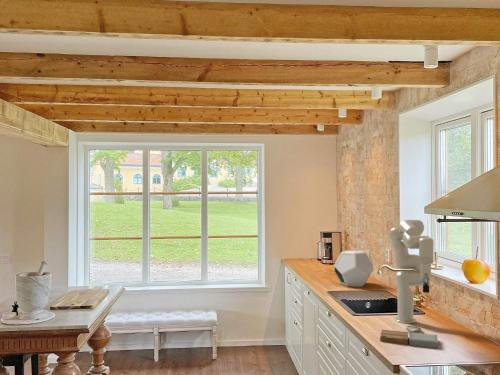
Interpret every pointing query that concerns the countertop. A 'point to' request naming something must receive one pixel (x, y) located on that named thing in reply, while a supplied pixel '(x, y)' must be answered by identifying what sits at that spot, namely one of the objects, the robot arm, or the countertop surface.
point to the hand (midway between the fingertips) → (426, 290)
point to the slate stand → (423, 340)
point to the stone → (414, 329)
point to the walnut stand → (394, 337)
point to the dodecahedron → (353, 268)
